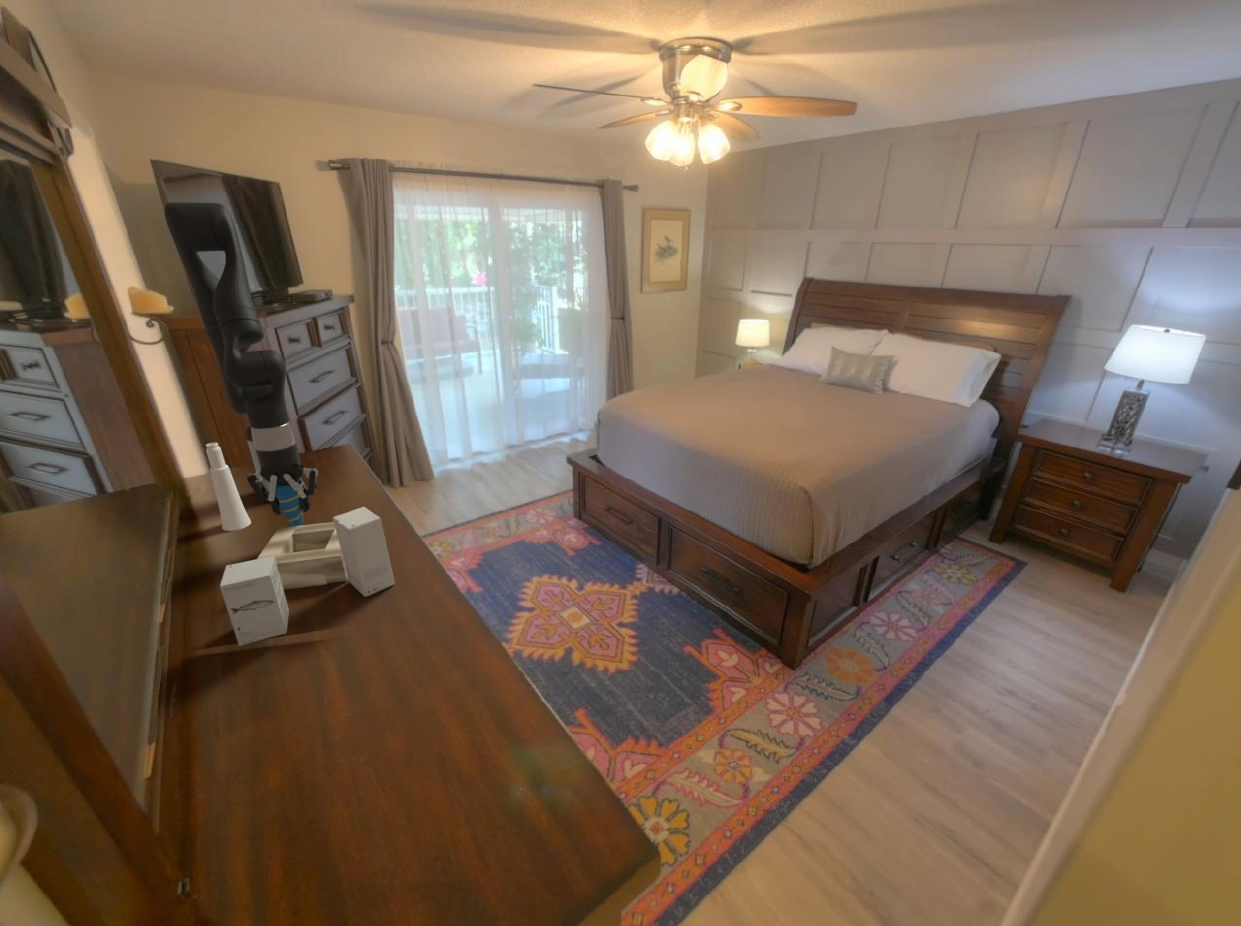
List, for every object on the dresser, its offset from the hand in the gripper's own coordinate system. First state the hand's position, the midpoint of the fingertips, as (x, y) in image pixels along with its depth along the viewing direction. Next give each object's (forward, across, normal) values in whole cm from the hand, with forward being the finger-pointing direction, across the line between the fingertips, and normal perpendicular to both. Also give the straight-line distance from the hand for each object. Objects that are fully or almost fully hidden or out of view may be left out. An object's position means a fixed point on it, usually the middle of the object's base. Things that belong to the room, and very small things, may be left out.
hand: (293, 511), depth 118 cm
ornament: (+6, 0, 0) cm, 6 cm away
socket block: (+8, -6, +12) cm, 16 cm away
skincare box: (+8, -19, +23) cm, 30 cm away
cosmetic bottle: (+8, +17, -12) cm, 23 cm away
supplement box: (+8, -3, +32) cm, 33 cm away
